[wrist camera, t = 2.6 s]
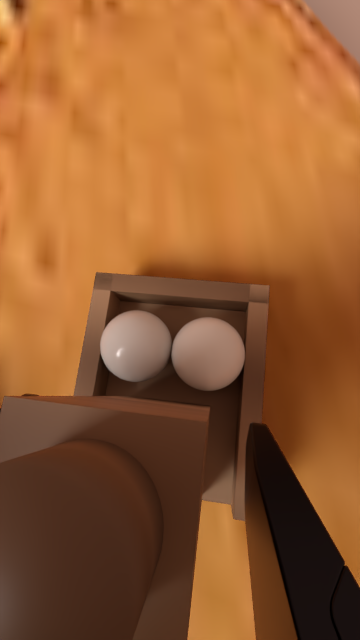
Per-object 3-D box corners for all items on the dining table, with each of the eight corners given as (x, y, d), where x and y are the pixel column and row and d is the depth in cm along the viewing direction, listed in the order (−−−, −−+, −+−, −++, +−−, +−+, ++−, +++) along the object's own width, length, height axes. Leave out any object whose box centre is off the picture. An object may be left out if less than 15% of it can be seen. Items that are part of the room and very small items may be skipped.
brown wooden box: (247, 498, 14) (432, 1035, 2) (84, 473, 15) (-397, 762, 3) (260, 303, 16) (395, 42, 4) (114, 291, 17) (-114, 49, 5)
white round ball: (191, 359, 14) (175, 352, 12) (136, 395, 15) (107, 396, 12) (158, 306, 15) (136, 287, 12) (107, 340, 16) (74, 329, 13)
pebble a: (249, 365, 15) (269, 363, 12) (194, 402, 14) (200, 409, 11) (213, 311, 15) (223, 295, 12) (158, 345, 15) (155, 338, 12)
